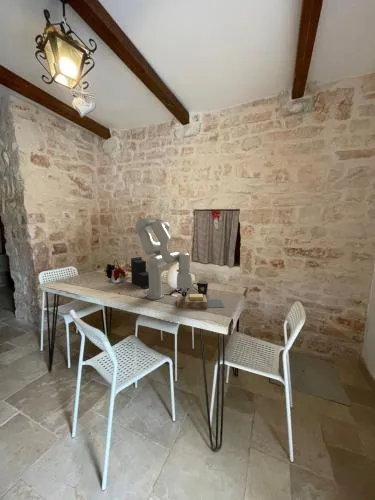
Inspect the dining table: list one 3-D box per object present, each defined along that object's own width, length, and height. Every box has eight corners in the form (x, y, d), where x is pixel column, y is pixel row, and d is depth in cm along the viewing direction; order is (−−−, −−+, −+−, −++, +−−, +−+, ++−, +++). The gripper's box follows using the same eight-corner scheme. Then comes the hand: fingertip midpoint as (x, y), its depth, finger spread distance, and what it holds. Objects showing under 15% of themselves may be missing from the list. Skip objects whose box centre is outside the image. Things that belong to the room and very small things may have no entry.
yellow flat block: (189, 299, 148) (189, 297, 148) (189, 296, 154) (189, 293, 154) (202, 299, 148) (202, 296, 148) (202, 296, 154) (202, 293, 154)
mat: (207, 307, 145) (207, 307, 145) (205, 299, 159) (205, 299, 159) (224, 307, 145) (224, 307, 145) (220, 299, 159) (220, 299, 159)
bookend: (155, 286, 190) (155, 260, 187) (144, 289, 183) (143, 261, 179) (141, 281, 207) (141, 256, 204) (131, 283, 200) (130, 258, 197)
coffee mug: (209, 293, 172) (210, 281, 171) (204, 296, 165) (204, 284, 164) (197, 291, 178) (197, 279, 177) (191, 294, 171) (191, 281, 170)
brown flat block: (177, 307, 145) (177, 302, 144) (177, 300, 158) (177, 294, 158) (207, 307, 145) (207, 301, 144) (205, 299, 159) (205, 294, 158)
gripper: (172, 272, 144) (173, 299, 147) (195, 272, 145) (195, 299, 147) (173, 270, 152) (173, 295, 154) (194, 269, 152) (194, 295, 155)
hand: (184, 297), depth 151 cm, fingers closed
